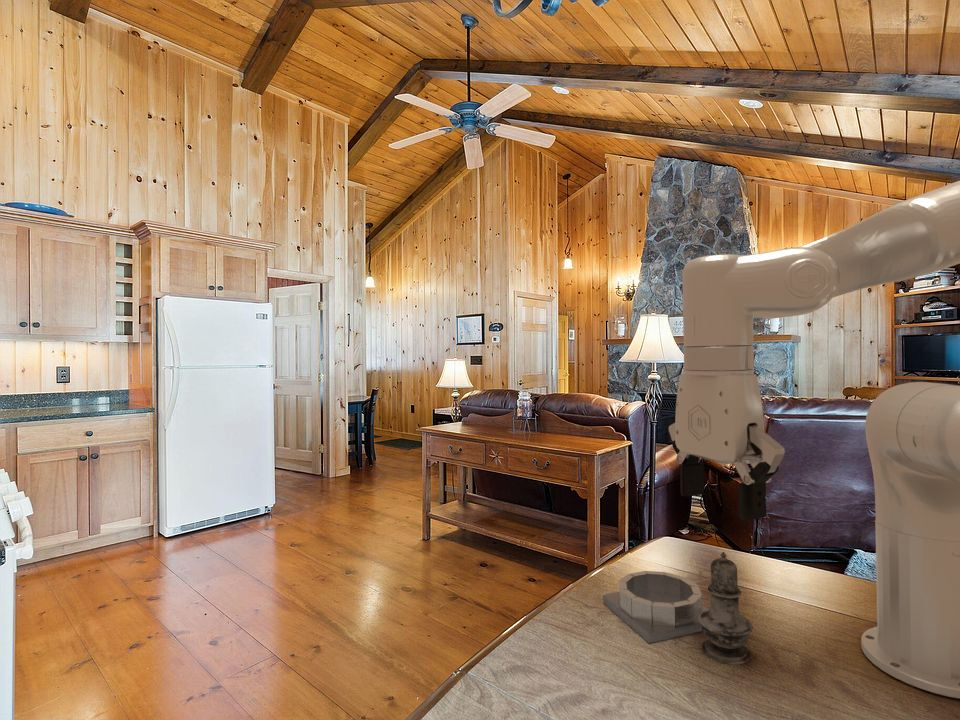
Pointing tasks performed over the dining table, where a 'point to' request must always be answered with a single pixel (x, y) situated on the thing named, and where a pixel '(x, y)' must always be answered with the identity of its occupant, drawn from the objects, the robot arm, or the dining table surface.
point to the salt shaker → (725, 616)
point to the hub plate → (651, 629)
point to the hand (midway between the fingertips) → (720, 505)
